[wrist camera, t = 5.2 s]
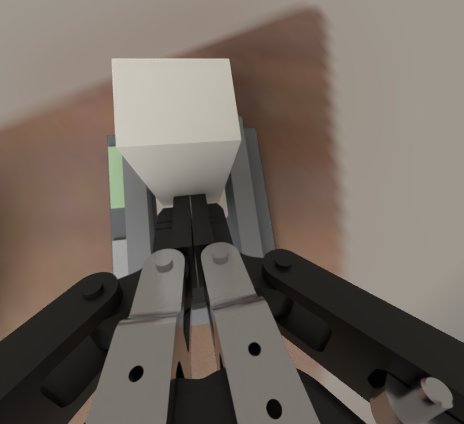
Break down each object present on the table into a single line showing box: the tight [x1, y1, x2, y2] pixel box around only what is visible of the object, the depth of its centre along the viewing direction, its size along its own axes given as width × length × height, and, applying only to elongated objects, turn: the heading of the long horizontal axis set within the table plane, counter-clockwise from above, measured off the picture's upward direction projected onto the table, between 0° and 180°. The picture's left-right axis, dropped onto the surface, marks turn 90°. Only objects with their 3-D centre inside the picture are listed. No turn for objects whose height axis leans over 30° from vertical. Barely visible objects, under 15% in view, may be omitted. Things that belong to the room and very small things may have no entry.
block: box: [112, 58, 241, 218], centre depth 10 cm, size 4×4×9 cm
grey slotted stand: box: [107, 116, 275, 326], centre depth 14 cm, size 10×12×3 cm
